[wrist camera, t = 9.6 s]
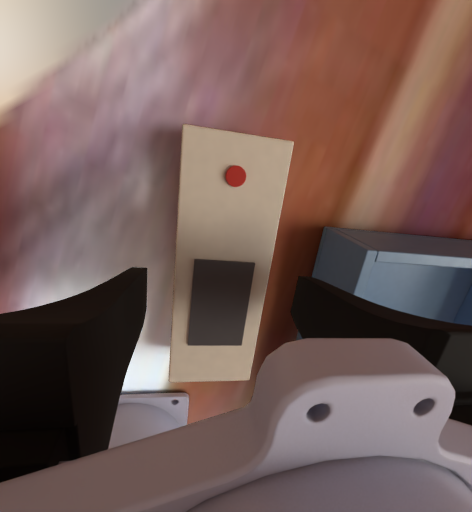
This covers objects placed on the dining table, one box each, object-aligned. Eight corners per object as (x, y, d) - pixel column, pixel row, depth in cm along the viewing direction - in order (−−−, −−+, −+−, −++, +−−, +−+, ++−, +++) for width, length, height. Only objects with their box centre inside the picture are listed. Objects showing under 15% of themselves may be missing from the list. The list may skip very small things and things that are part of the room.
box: (274, 423, 22) (293, 483, 18) (323, 226, 16) (367, 249, 12) (408, 415, 25) (450, 466, 21) (491, 242, 19) (574, 266, 15)
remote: (172, 347, 18) (168, 385, 15) (184, 130, 13) (182, 123, 10) (241, 347, 19) (250, 383, 16) (274, 144, 14) (296, 141, 11)
